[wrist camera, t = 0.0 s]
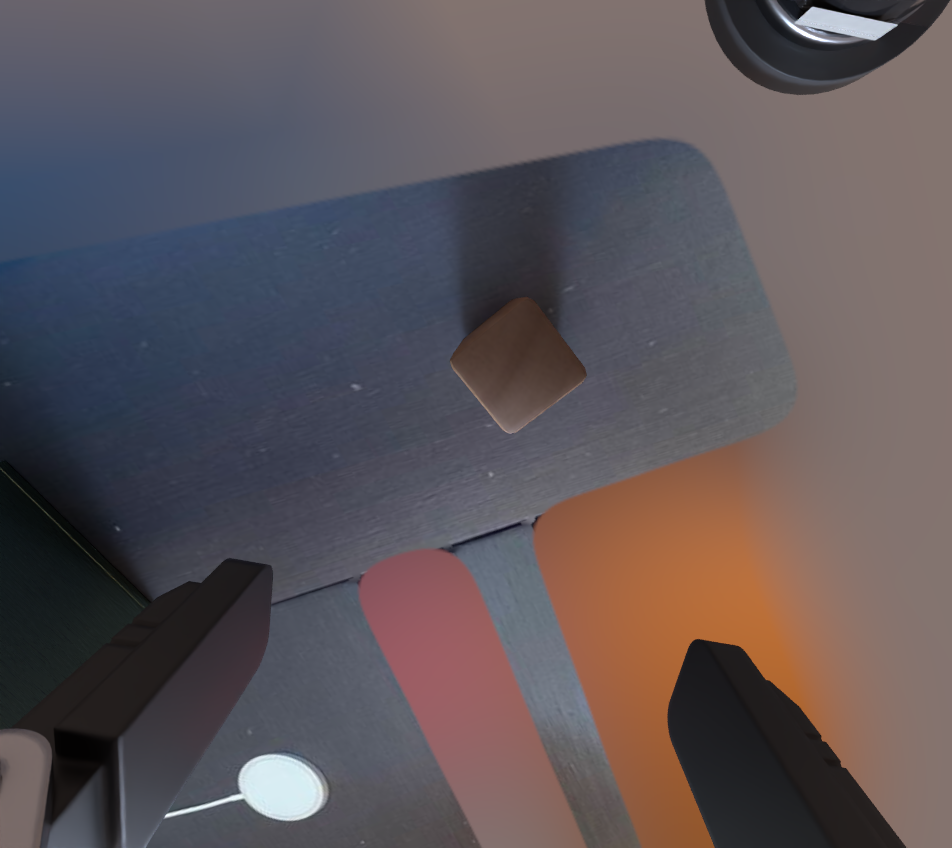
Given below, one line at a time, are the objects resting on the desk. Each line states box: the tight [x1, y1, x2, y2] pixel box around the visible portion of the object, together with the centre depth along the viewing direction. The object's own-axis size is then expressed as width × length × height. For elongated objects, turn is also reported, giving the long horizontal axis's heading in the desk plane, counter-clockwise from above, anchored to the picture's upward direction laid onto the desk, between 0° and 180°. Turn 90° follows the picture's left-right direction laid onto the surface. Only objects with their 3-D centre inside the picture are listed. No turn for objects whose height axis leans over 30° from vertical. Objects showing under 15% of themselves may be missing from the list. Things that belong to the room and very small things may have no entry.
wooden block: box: [450, 297, 587, 434], centre depth 21 cm, size 4×4×8 cm
